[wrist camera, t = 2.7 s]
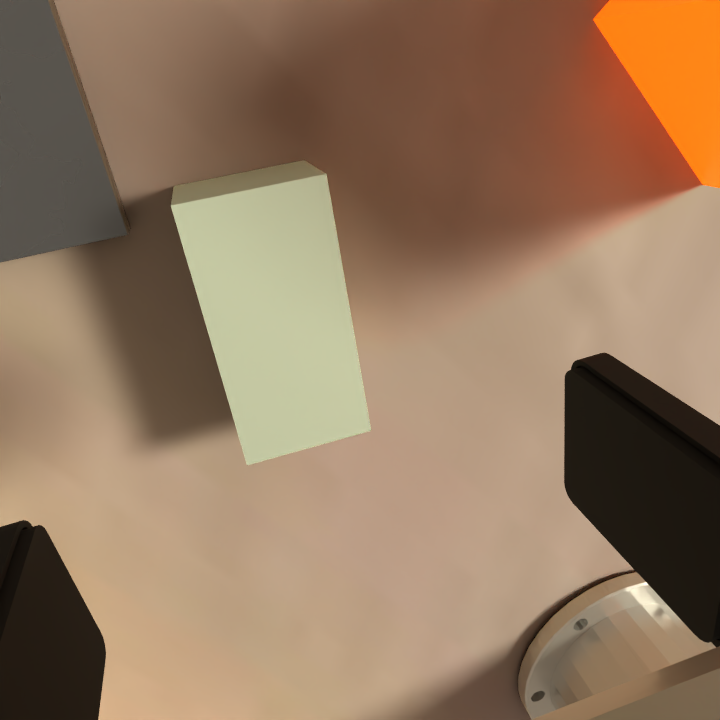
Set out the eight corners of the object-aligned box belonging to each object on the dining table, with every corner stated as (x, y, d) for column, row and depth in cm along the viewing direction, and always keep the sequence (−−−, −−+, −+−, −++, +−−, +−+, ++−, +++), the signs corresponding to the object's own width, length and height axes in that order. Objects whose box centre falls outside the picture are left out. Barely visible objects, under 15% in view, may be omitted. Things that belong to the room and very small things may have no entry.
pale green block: (303, 159, 21) (326, 173, 17) (345, 382, 25) (371, 430, 21) (174, 185, 20) (170, 205, 17) (238, 410, 24) (247, 465, 21)
